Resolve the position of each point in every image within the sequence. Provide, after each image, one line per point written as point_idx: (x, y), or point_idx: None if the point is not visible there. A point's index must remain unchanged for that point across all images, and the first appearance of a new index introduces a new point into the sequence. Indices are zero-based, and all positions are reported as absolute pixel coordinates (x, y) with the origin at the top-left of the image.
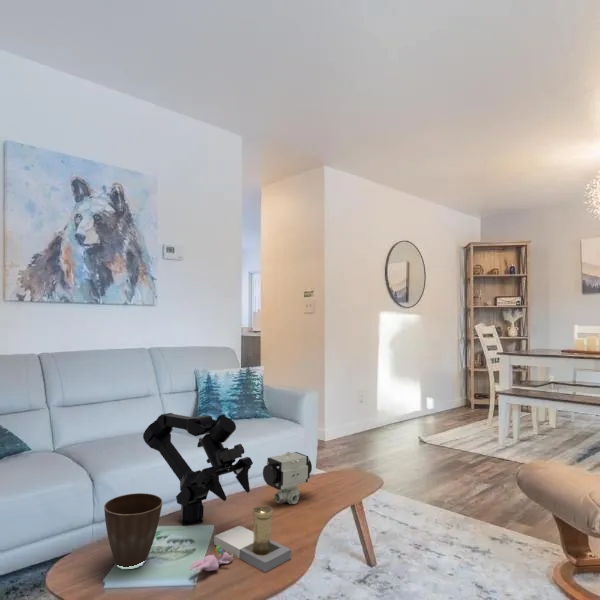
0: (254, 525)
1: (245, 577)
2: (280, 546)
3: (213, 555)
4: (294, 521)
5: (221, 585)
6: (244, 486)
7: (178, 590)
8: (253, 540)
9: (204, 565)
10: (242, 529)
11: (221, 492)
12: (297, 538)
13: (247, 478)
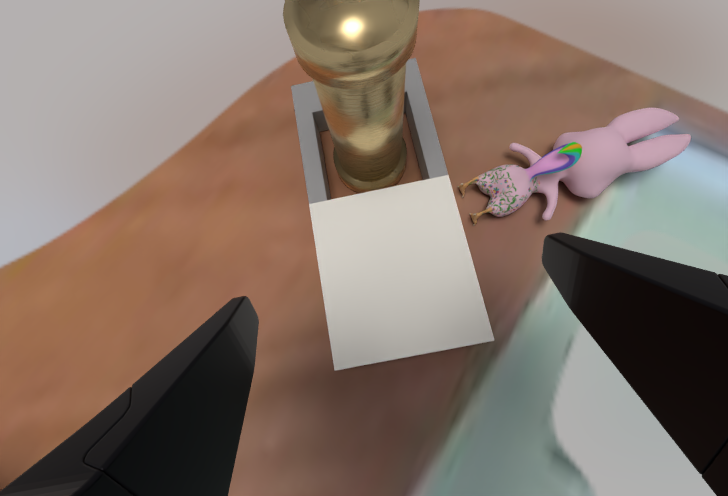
0: (404, 81)
1: (480, 87)
2: (306, 118)
3: (549, 210)
4: (91, 326)
5: (566, 85)
6: (236, 378)
7: (707, 123)
8: (400, 135)
9: (641, 110)
10: (347, 322)
11: (649, 258)
12: (189, 202)
13: (123, 403)
